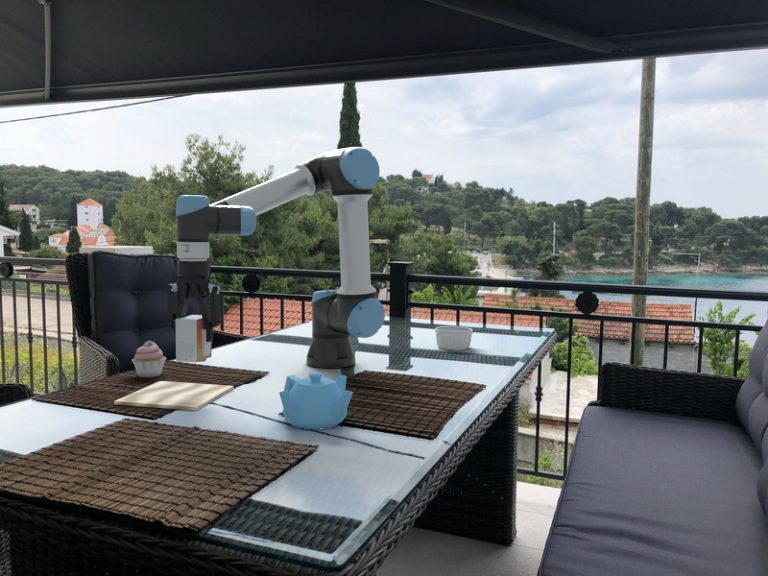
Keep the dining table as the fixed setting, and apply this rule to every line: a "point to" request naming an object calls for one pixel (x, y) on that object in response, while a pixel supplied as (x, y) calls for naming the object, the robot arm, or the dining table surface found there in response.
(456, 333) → the ramekin
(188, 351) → the small box
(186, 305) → the robot arm
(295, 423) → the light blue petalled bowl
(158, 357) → the cupcake
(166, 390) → the birch board
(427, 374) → the dining table surface
